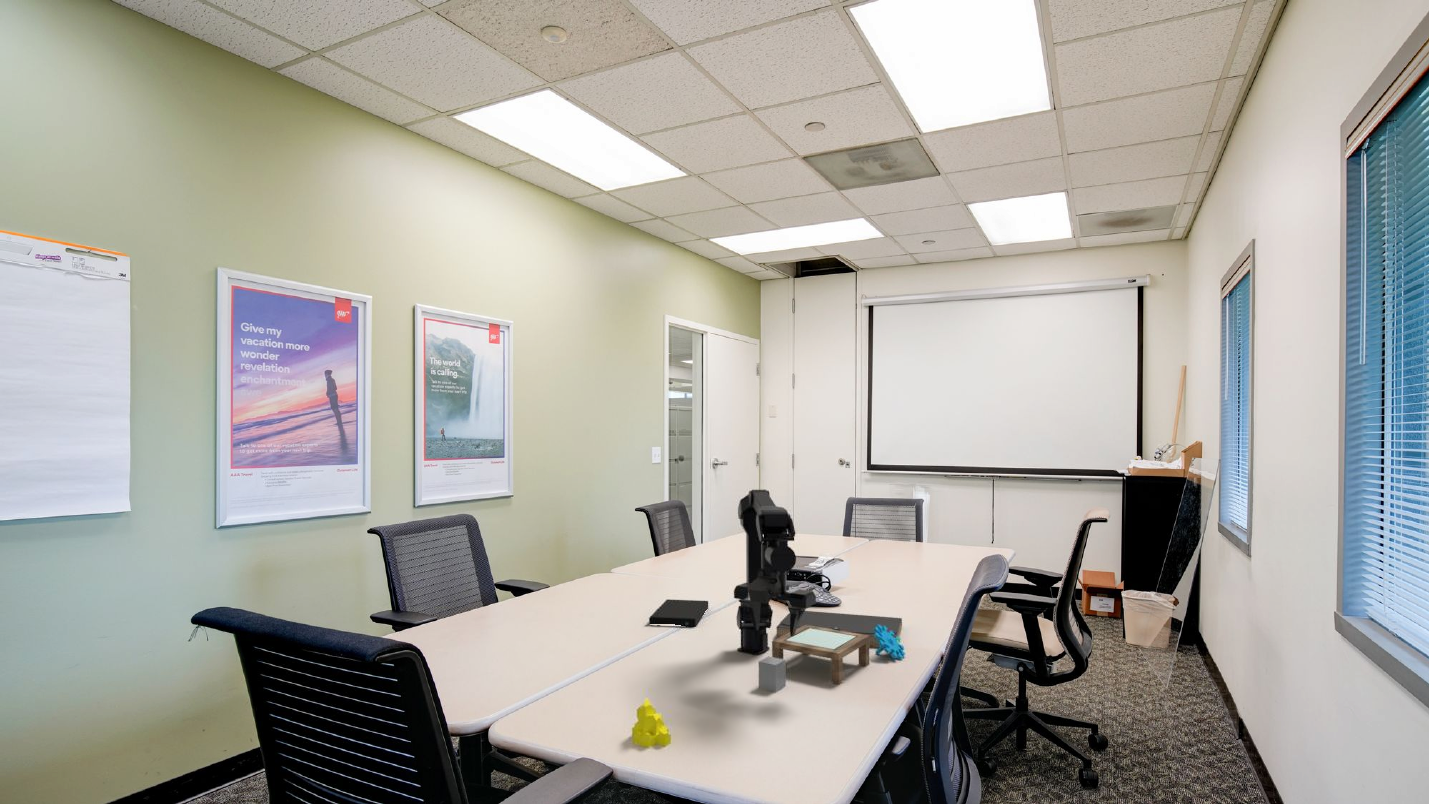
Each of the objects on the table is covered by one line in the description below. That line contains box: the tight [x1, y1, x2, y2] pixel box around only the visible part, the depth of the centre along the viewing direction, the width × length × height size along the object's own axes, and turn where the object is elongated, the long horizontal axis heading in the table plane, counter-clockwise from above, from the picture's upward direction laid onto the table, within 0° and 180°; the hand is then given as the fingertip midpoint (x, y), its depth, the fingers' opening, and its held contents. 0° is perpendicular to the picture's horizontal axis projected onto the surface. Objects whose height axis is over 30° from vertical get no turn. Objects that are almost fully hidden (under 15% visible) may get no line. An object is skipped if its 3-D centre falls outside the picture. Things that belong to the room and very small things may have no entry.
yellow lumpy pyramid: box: [631, 697, 672, 749], centre depth 133 cm, size 6×8×8 cm
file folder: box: [775, 610, 903, 648], centre depth 204 cm, size 33×4×24 cm
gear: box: [874, 625, 906, 660], centre depth 183 cm, size 11×6×10 cm
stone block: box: [758, 656, 787, 693], centre depth 160 cm, size 4×4×6 cm
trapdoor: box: [785, 628, 856, 650], centre depth 174 cm, size 13×13×1 cm
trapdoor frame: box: [771, 625, 870, 685], centre depth 174 cm, size 18×18×7 cm
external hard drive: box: [648, 599, 709, 628], centre depth 222 cm, size 14×23×3 cm, turn 171°
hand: (774, 632), depth 161 cm, fingers open, 9 cm apart
